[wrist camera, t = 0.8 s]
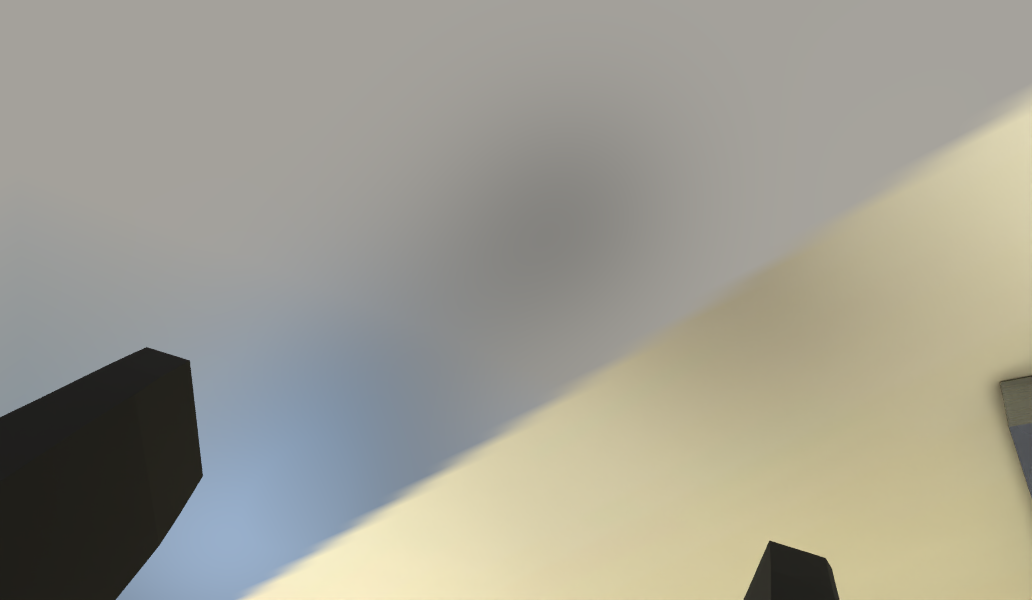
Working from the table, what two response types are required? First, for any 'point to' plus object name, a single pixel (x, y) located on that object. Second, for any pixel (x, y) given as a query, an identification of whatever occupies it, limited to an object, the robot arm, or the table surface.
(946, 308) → the table surface
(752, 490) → the table surface
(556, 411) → the table surface
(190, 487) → the robot arm
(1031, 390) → the grey divided tray
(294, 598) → the table surface
